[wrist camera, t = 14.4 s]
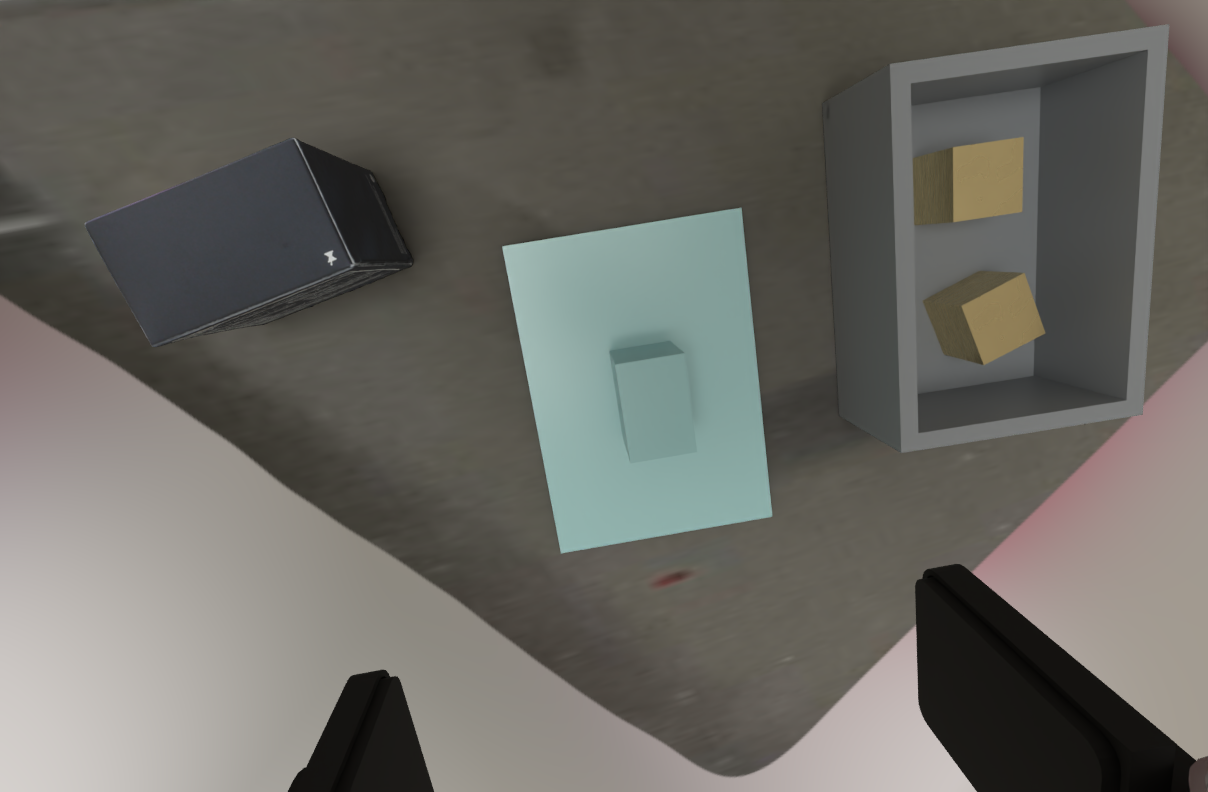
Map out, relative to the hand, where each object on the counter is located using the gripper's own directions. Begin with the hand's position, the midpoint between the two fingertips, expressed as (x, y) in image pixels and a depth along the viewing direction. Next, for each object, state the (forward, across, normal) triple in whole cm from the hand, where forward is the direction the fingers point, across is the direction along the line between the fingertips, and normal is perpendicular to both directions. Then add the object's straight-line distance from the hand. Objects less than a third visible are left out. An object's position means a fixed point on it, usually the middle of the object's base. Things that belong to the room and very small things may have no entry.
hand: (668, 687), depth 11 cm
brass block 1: (+29, -23, -7) cm, 38 cm away
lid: (+31, -3, +3) cm, 31 cm away
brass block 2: (+29, -24, +1) cm, 38 cm away
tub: (+30, -23, -3) cm, 38 cm away
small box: (+31, +16, -10) cm, 36 cm away
